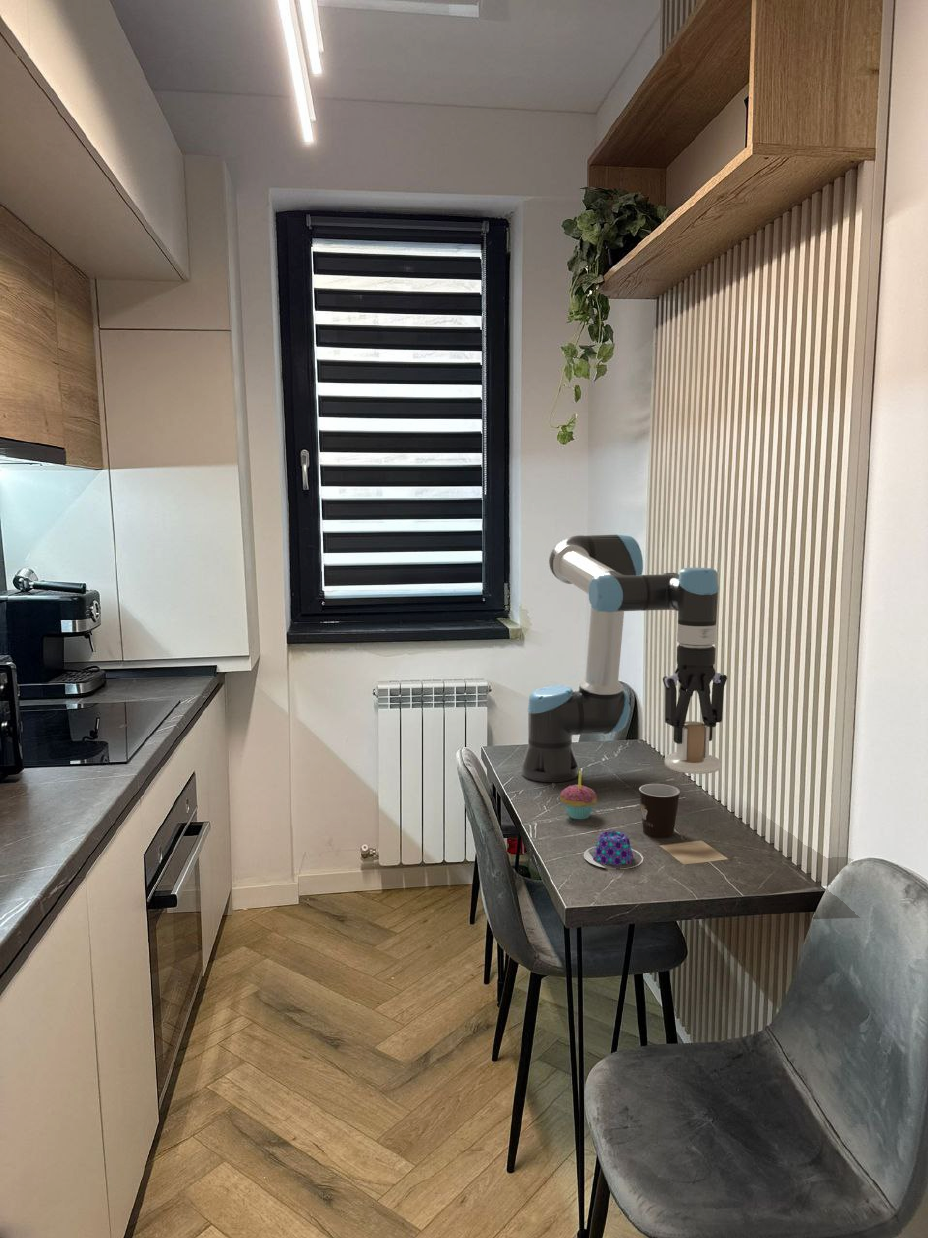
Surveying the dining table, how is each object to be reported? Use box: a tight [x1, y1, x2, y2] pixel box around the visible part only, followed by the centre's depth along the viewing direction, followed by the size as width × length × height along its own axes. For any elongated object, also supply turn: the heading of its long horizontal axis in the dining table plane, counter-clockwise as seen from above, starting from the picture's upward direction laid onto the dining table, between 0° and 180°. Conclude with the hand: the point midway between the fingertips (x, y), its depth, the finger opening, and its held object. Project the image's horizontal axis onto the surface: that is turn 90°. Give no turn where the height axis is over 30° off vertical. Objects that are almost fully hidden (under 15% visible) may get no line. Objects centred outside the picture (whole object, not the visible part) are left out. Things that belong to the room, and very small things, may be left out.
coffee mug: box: [638, 783, 681, 839], centre depth 185 cm, size 12×9×10 cm
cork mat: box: [659, 840, 729, 866], centre depth 174 cm, size 10×10×1 cm
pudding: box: [583, 830, 644, 870], centre depth 172 cm, size 12×12×5 cm
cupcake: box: [559, 768, 598, 820], centre depth 195 cm, size 9×8×12 cm
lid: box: [664, 720, 721, 775], centre depth 172 cm, size 11×11×9 cm
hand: (692, 757), depth 173 cm, fingers closed on lid, 4 cm apart
